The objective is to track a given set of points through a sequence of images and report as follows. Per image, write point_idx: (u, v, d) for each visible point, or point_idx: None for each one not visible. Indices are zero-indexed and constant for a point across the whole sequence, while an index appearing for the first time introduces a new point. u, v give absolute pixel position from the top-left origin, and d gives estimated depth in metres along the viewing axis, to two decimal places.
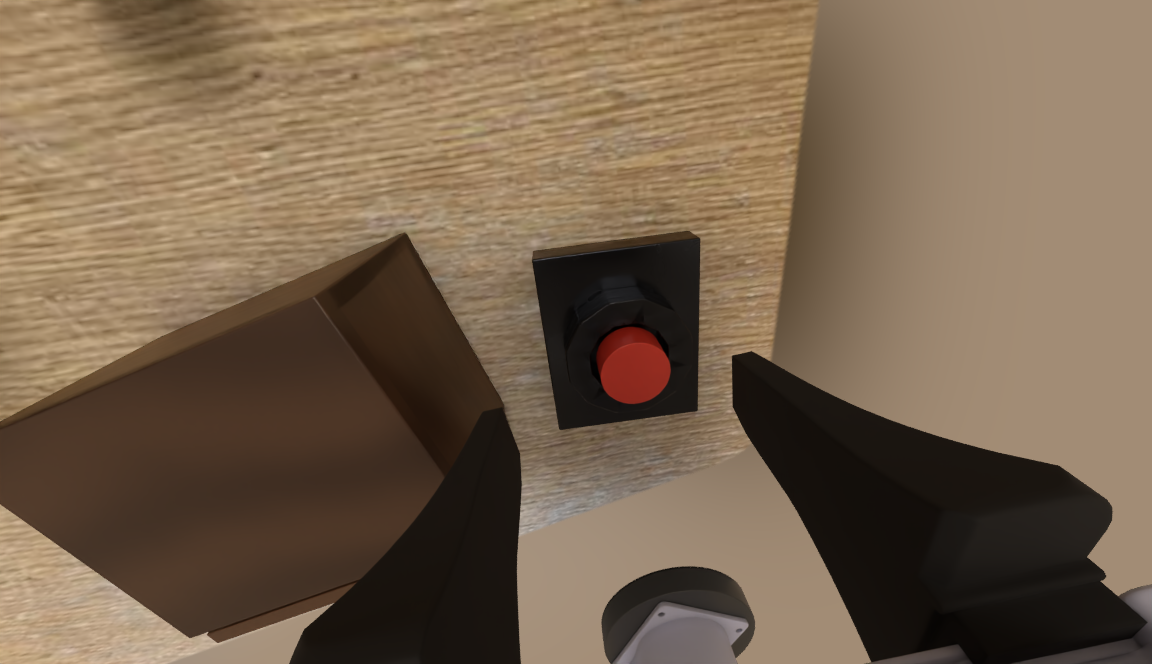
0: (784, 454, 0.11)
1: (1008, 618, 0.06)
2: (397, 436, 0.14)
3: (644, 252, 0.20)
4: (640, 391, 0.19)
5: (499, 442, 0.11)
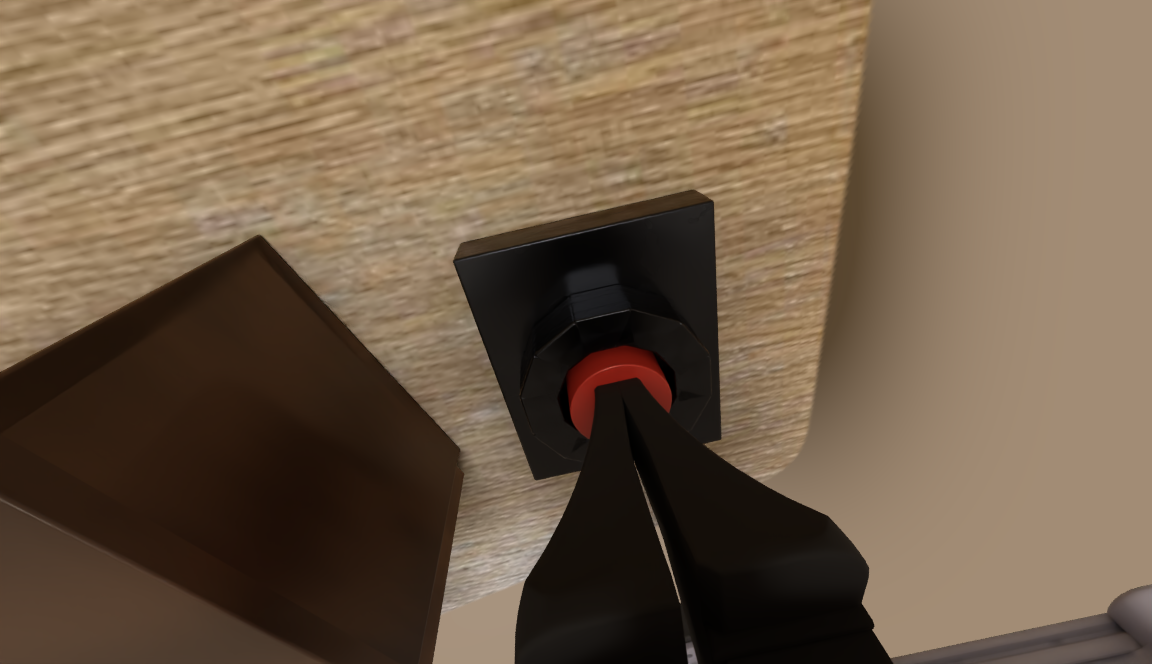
0: (649, 484, 0.11)
1: None
2: (203, 621, 0.08)
3: (627, 232, 0.13)
4: None
5: None
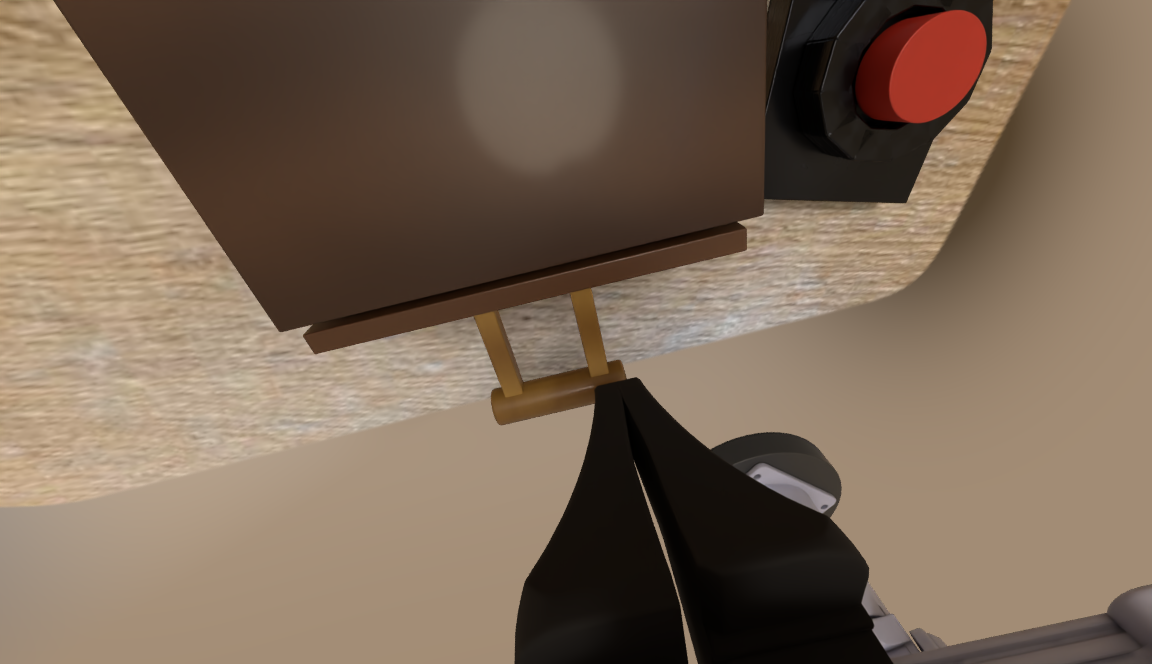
0: (649, 484, 0.11)
1: None
2: None
3: None
4: (929, 101, 0.14)
5: None
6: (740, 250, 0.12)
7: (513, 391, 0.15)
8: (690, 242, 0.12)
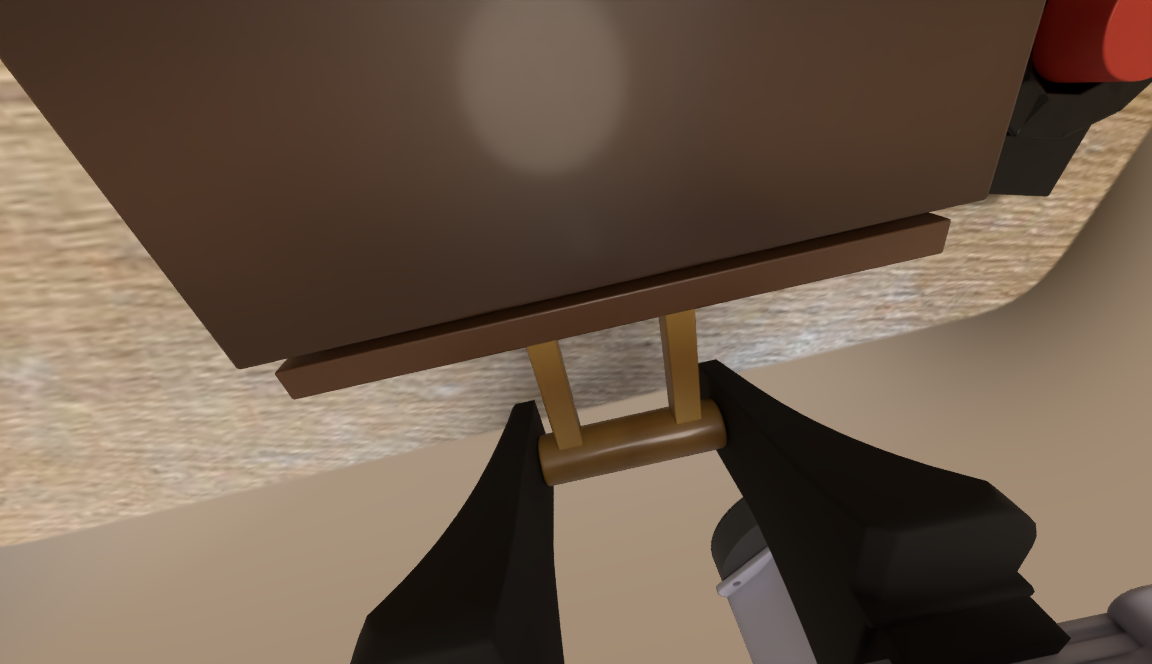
0: (743, 463, 0.11)
1: (936, 634, 0.06)
2: None
3: None
4: None
5: (535, 434, 0.11)
6: (934, 252, 0.08)
7: (569, 442, 0.11)
8: (864, 239, 0.08)
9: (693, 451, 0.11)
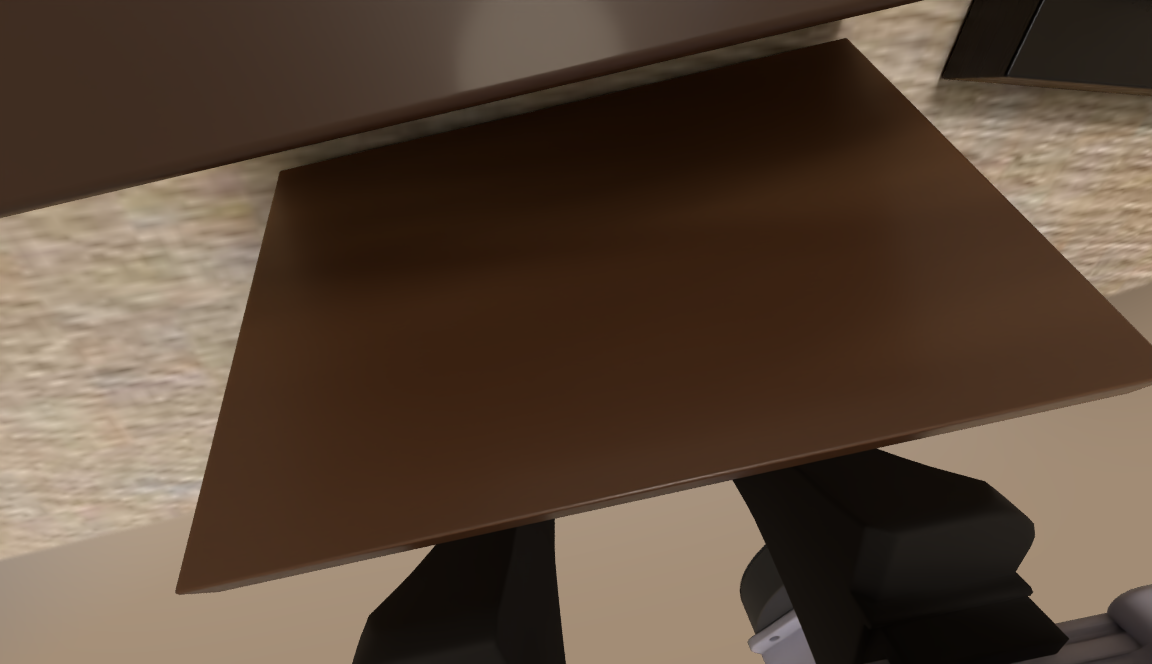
0: None
1: (935, 634, 0.06)
2: None
3: None
4: None
5: None
6: None
7: None
8: (1048, 400, 0.05)
9: None
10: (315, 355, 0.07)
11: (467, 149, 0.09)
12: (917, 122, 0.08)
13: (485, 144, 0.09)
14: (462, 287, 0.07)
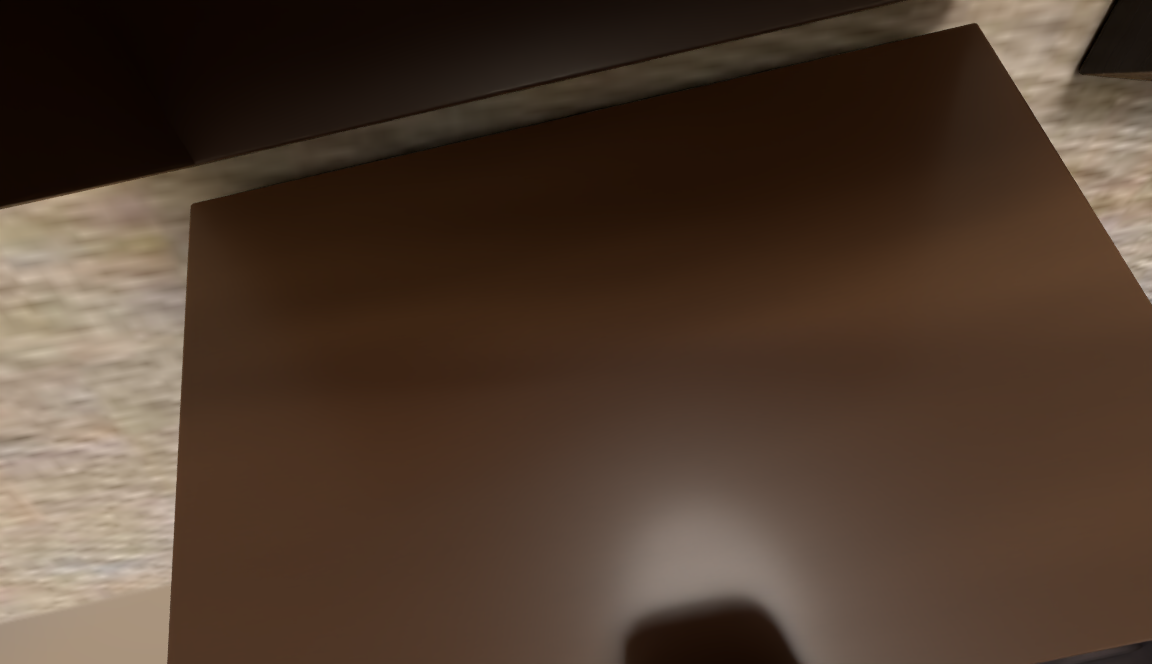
0: None
1: None
2: None
3: None
4: None
5: None
6: None
7: None
8: None
9: None
10: (282, 516, 0.06)
11: (452, 186, 0.07)
12: (1062, 187, 0.06)
13: (476, 179, 0.07)
14: (465, 421, 0.06)
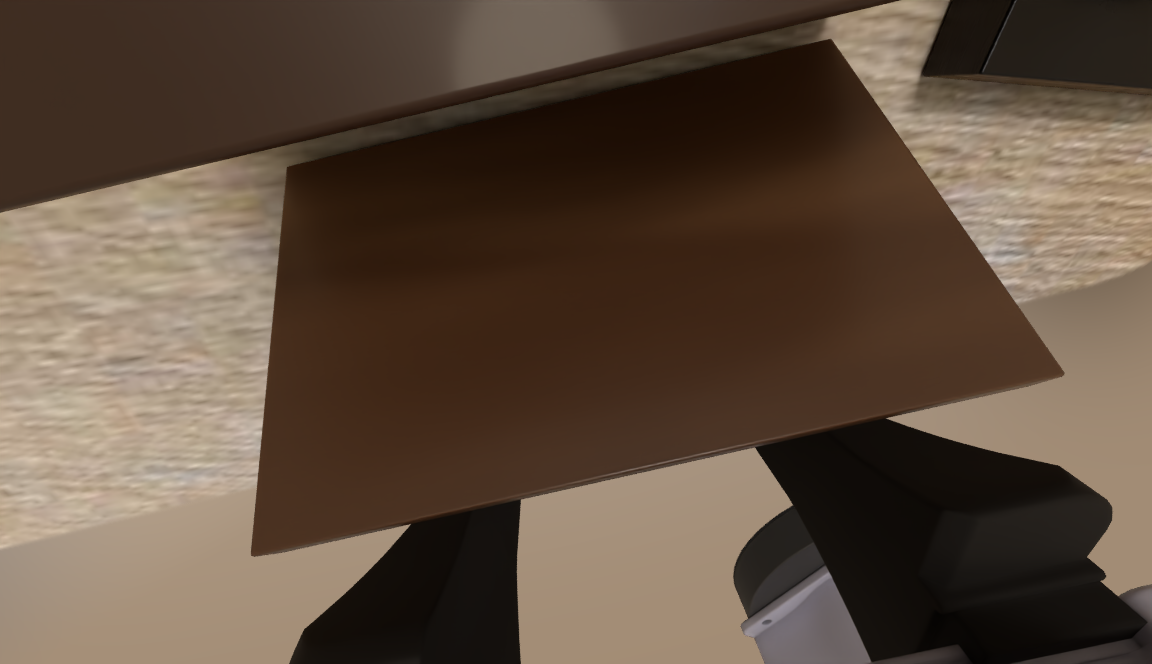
0: (784, 454, 0.11)
1: (1008, 618, 0.06)
2: None
3: None
4: None
5: None
6: None
7: None
8: (960, 396, 0.07)
9: None
10: (344, 353, 0.08)
11: (469, 149, 0.10)
12: (886, 134, 0.09)
13: (486, 144, 0.10)
14: (473, 290, 0.08)
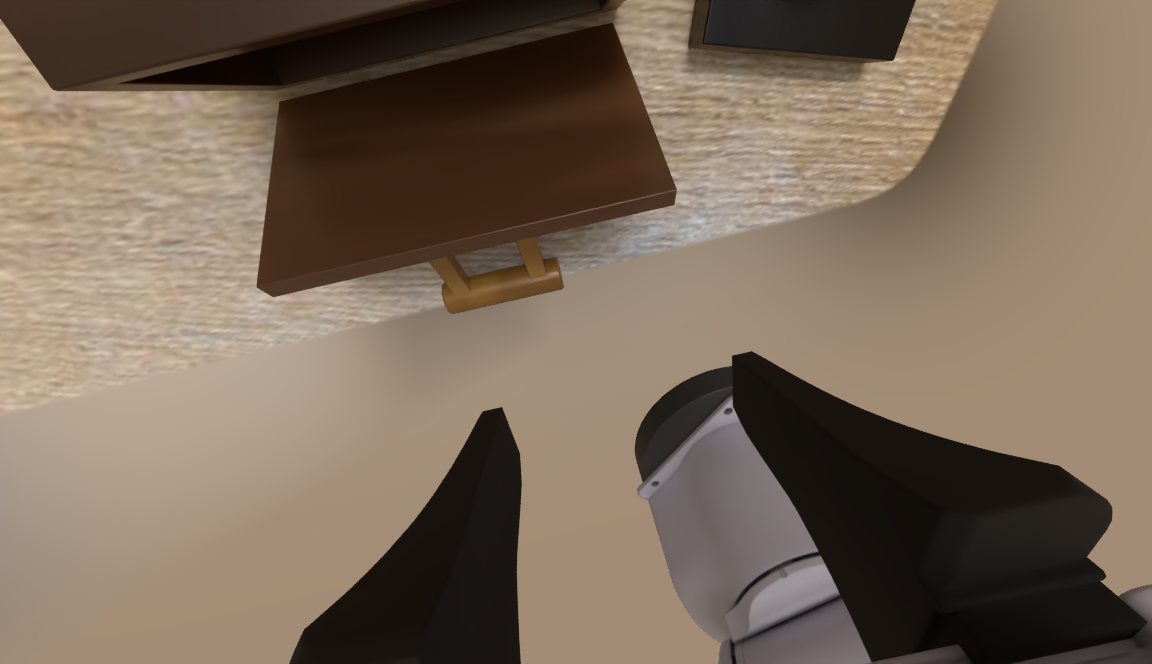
0: (784, 454, 0.11)
1: (1008, 618, 0.06)
2: None
3: None
4: None
5: (499, 442, 0.11)
6: (668, 205, 0.13)
7: (462, 292, 0.17)
8: (624, 202, 0.13)
9: (542, 293, 0.18)
10: (309, 196, 0.14)
11: (389, 89, 0.16)
12: (626, 76, 0.15)
13: (400, 86, 0.16)
14: (383, 163, 0.14)
